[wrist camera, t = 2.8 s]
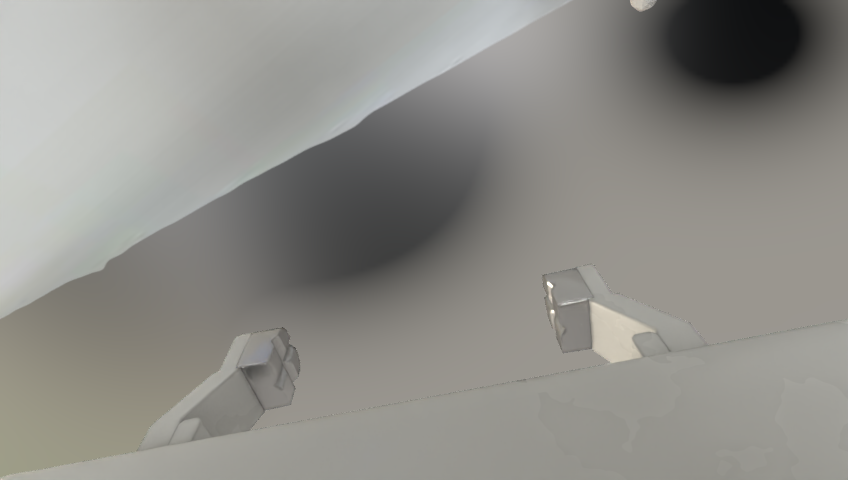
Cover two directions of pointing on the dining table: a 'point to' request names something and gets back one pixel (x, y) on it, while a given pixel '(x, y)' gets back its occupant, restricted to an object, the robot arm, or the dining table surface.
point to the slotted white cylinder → (642, 4)
